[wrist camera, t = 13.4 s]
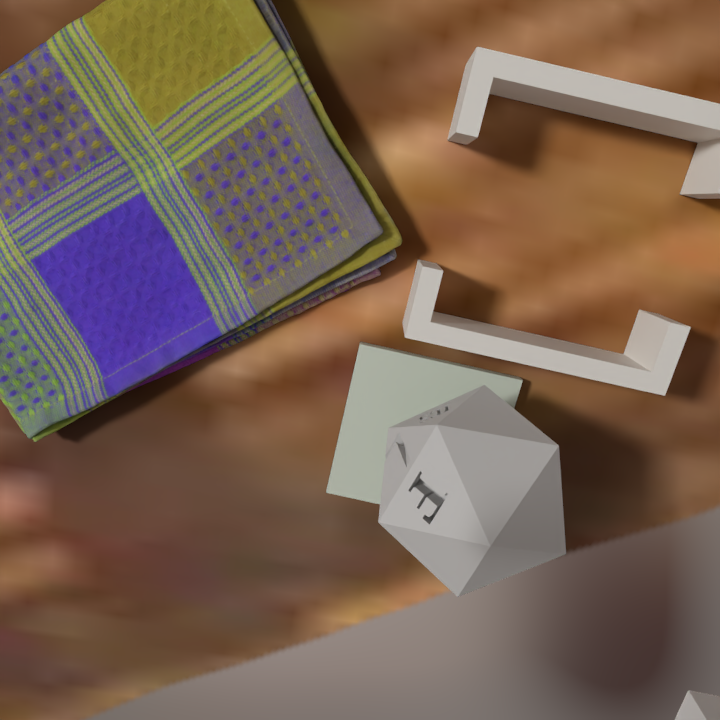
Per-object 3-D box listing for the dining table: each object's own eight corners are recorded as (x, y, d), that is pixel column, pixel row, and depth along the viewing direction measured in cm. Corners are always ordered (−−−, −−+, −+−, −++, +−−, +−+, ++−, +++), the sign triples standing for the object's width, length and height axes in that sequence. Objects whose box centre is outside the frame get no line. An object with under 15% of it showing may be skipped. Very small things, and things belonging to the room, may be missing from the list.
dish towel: (-147, 163, 31) (-196, 159, 29) (252, -80, 28) (239, -111, 25) (38, 440, 35) (10, 460, 32) (411, 257, 32) (414, 262, 29)
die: (425, 342, 31) (445, 405, 22) (568, 417, 32) (648, 510, 23) (352, 471, 34) (340, 580, 24) (488, 539, 34) (530, 670, 25)
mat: (360, 341, 32) (359, 343, 32) (520, 377, 32) (522, 380, 32) (326, 487, 35) (326, 492, 34) (476, 520, 35) (478, 525, 34)
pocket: (465, 65, 28) (477, 46, 25) (724, 126, 29) (770, 116, 25) (402, 323, 32) (405, 337, 28) (635, 375, 32) (664, 395, 29)
